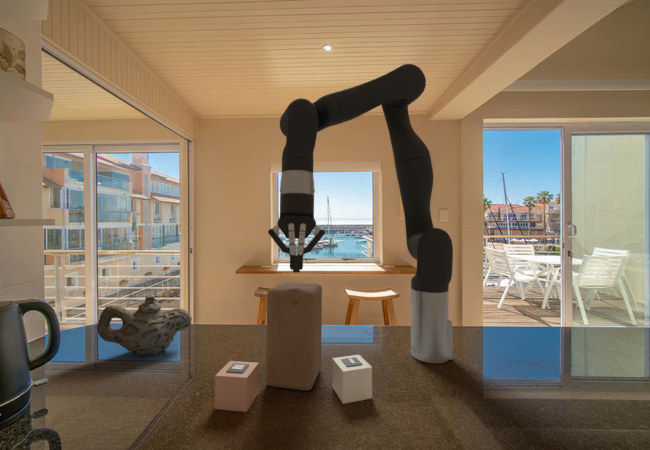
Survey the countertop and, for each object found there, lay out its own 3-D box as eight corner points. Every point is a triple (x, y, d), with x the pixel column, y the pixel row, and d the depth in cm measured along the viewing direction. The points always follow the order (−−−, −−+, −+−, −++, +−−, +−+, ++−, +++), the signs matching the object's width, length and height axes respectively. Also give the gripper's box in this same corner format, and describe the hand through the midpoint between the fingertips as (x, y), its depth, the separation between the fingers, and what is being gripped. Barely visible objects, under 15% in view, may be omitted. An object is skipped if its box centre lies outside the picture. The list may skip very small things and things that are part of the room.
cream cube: (358, 383, 61) (359, 352, 61) (372, 398, 55) (372, 365, 56) (332, 387, 59) (332, 356, 59) (342, 404, 54) (343, 369, 54)
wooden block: (311, 393, 57) (312, 291, 57) (263, 387, 59) (265, 289, 59) (322, 369, 67) (322, 283, 67) (281, 365, 69) (282, 281, 69)
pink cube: (258, 393, 57) (258, 360, 57) (246, 412, 51) (247, 375, 51) (229, 391, 58) (230, 359, 58) (214, 409, 52) (215, 373, 52)
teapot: (191, 339, 85) (192, 288, 85) (191, 354, 75) (192, 295, 75) (102, 351, 76) (103, 294, 76) (88, 370, 65) (90, 304, 66)
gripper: (324, 196, 68) (323, 269, 68) (268, 194, 67) (266, 269, 66) (329, 192, 61) (328, 274, 61) (265, 190, 59) (264, 274, 59)
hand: (296, 271), depth 63 cm, fingers closed
